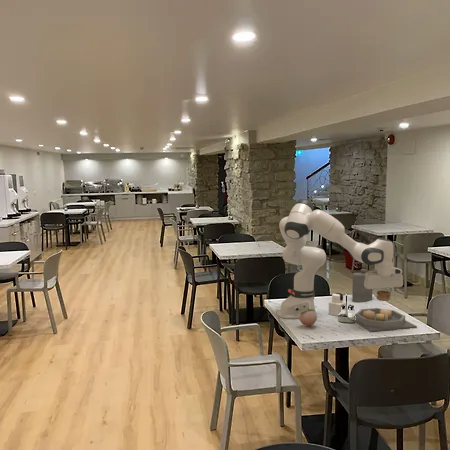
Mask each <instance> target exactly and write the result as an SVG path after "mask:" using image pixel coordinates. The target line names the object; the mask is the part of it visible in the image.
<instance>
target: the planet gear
mask: <svg viewBox="0 0 450 450" xmlns="http://www.w3.org/2000/svg"><path fill="white" fill-rule="evenodd" d="M376 292H377V293H378V294H379V296H378V297H375V298H376V299H377V301H381V302H387V301H390V299H391V298H390V297H391V296H390V293H389V290H383V289H382V290H377V291H376Z"/></svg>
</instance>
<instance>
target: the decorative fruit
mask: <svg viewBox="0 0 450 450" xmlns="http://www.w3.org/2000/svg"><path fill="white" fill-rule="evenodd" d="M298 319H299V321H300V323H301V324H302V325H303V326H305V327H307V328H308V327H310V326H312V325H314V324H316V322H317V320H318V316H317V312H316V313H315V312H314V310H312V309H309V308H308V310H303V311H302V312H301V313H300V315H299V318H298Z"/></svg>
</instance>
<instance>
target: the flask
mask: <svg viewBox="0 0 450 450" xmlns="http://www.w3.org/2000/svg"><path fill="white" fill-rule="evenodd" d="M367 271H368V270H367V269H366V268H361V269H360V272H353V273H352V290H351V291H352V292H351V293H352V294H351V297H352V299H351V301H352V302H353V303H365V302H369V301H372V300H373V290H372V289H367V288H365V287H364V280H365V273H366V272H367Z"/></svg>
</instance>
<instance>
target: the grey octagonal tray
mask: <svg viewBox="0 0 450 450" xmlns="http://www.w3.org/2000/svg"><path fill="white" fill-rule="evenodd" d="M354 314H355V316H356V320H355V322H354V323H355V324H357V325H359V326H360V327H362V328H363V329H365V330H366V331H368V332H370V333H376V332H377V333H378V332H379V333H380V332H389V331H398V330H397V329H401V330H410V328H412V329H417V328H418V327H417V325H415V324H414V323H411V322H409V321H408V320H406V315H404V314H402V313H400V312H399V311H396V310H393V309H388V308H380V307H372V308H369V307H368V308H360V309H359V310H358V311H357V312H356V313H354Z"/></svg>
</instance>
